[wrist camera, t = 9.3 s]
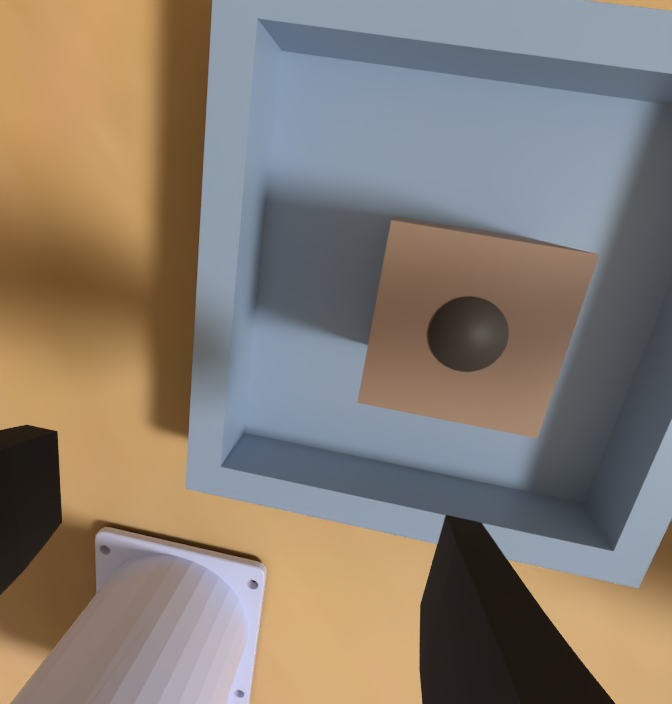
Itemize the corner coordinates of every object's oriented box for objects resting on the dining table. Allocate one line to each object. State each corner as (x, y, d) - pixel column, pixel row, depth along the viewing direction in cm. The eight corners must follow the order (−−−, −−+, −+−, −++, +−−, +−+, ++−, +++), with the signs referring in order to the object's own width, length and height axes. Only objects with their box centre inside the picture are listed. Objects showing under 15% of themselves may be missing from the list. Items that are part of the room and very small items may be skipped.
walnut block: (496, 369, 16) (537, 439, 11) (369, 345, 16) (357, 403, 11) (534, 239, 14) (600, 255, 10) (393, 216, 15) (391, 220, 10)
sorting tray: (600, 527, 18) (638, 588, 15) (217, 446, 19) (185, 488, 16) (788, 76, 13) (900, 38, 10) (252, 6, 14) (214, -46, 11)
